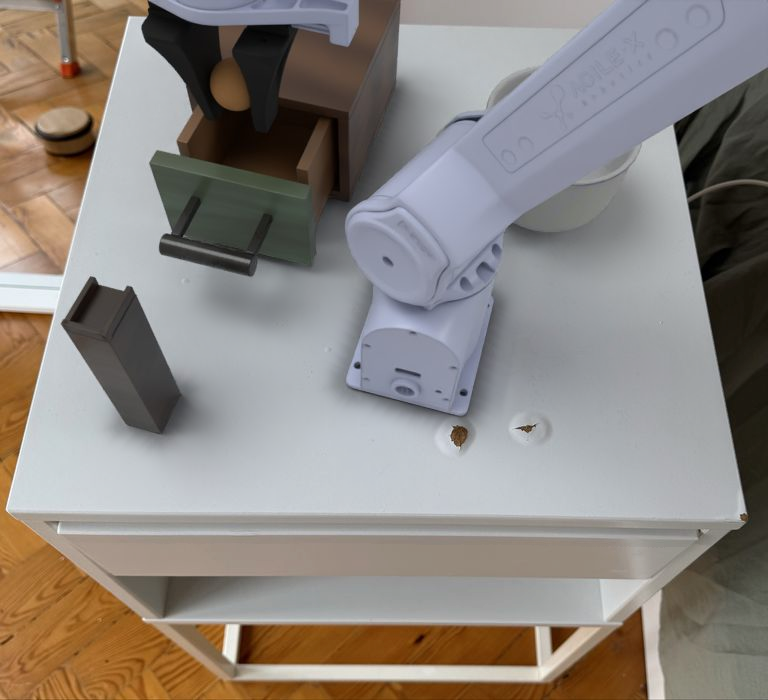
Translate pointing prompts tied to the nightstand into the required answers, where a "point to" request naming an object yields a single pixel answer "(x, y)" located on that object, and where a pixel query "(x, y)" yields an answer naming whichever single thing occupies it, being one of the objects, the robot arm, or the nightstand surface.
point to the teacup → (578, 198)
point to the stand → (123, 354)
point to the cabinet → (340, 82)
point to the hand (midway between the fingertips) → (242, 115)
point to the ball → (229, 85)
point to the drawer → (247, 187)
